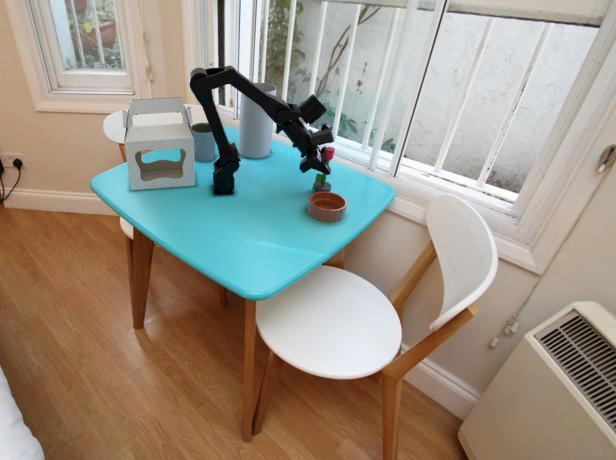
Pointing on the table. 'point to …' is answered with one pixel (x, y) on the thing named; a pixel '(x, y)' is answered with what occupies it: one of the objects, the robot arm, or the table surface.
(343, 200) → the bowl
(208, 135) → the grey cup
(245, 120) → the cylinder vase
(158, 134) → the gable box
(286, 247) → the table surface
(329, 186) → the tulip
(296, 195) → the table surface
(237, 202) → the table surface
